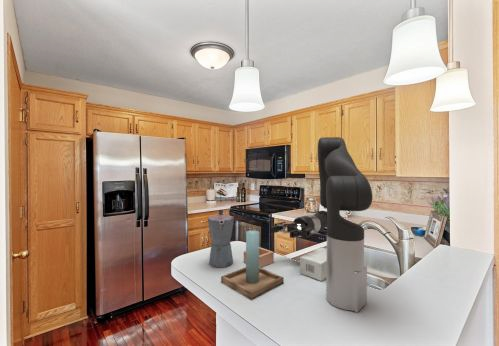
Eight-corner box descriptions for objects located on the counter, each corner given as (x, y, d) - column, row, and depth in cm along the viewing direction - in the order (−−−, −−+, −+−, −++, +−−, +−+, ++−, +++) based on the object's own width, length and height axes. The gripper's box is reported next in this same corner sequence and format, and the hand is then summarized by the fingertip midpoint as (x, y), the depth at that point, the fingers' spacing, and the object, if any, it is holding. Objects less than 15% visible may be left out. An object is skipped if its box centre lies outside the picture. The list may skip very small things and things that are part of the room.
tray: (283, 283, 73) (283, 277, 73) (251, 299, 63) (251, 293, 63) (252, 269, 83) (252, 264, 83) (221, 282, 73) (221, 276, 73)
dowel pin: (261, 280, 73) (261, 232, 73) (252, 284, 70) (252, 234, 70) (252, 276, 76) (252, 229, 76) (243, 280, 73) (243, 231, 73)
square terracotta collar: (273, 262, 89) (273, 251, 89) (258, 268, 84) (258, 257, 83) (258, 256, 95) (258, 246, 95) (243, 262, 89) (243, 251, 89)
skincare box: (320, 281, 74) (342, 269, 84) (321, 262, 74) (342, 252, 84) (298, 273, 80) (321, 262, 90) (298, 255, 80) (321, 246, 90)
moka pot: (209, 272, 80) (209, 213, 80) (206, 256, 95) (206, 206, 95) (236, 269, 82) (236, 212, 82) (229, 254, 97) (230, 205, 97)
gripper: (292, 213, 98) (265, 218, 87) (323, 218, 88) (297, 225, 77) (292, 231, 98) (265, 239, 87) (323, 238, 88) (297, 248, 77)
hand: (280, 232), depth 82 cm, fingers open, 8 cm apart
